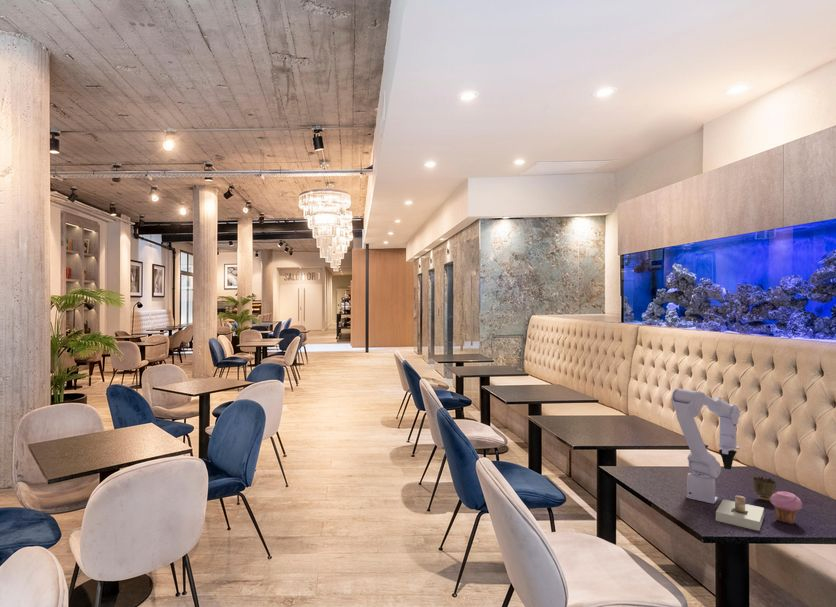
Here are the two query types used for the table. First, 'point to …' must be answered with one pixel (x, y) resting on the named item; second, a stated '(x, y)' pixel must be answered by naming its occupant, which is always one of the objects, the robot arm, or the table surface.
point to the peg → (740, 504)
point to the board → (740, 515)
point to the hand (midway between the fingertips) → (727, 468)
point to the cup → (764, 487)
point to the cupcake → (786, 506)
